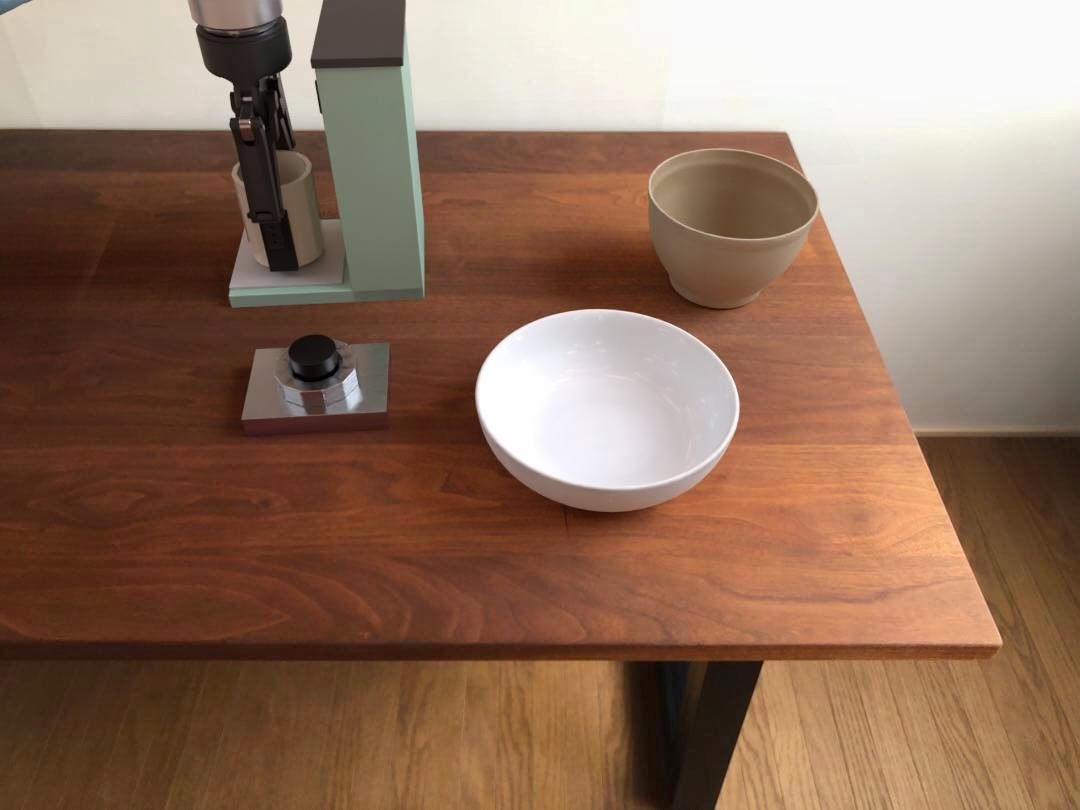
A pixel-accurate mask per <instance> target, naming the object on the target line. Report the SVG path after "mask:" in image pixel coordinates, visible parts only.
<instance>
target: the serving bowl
mask: <svg viewBox="0 0 1080 810" xmlns="http://www.w3.org/2000/svg"><path fill="white" fill-rule="evenodd" d="M474 389H475V391H474V395H475V396H474V399H475V408H476V412H477V416H478V420H479V423H480V427H481V430H482V432H483V436H484V437H485V439H486V442H487V444H488V445H489V447H490V449H491V451H492V452H493V454H494V455H495V457H496V459H497V460H498V461H499V462H500V464H501V465H502V466H503V467H504V468H505V469H506V470H507V471H508V472H509V473H510V475H512V476H513V477H514V478H515V479H516V480H518V481H519V482H520V483H522V484H523V485H524V486H526V487H527V488H529V489H530V490H531V491H534V492H536V493H537V494H539V495H541V496H543V497H544V498H547V499H548V500H551V501H554V502H557V503H560V504H562V505H565V506H569V507H571V508H574V509H575V508H576V509H581V510H585V511H592V512H602V513H603V512H604V513H605V512H606V513H608V512H609V513H617V512H618V513H620V512H621V513H622V512H631V511H636V510H642V509H646V508H650V507H654V506H658V505H660V504H663V503H666V502H669V501H670V500H673V499H675V498H677V497H679V496H680V495H681V496H682V494H684V493H686V492H688V491H690V489H692V488H694V487H695V486H696V485H697V484H699V483H701V481H702V480H703V479H704V478H705V477H707V475H709V474H710V473H711V472H712V470H714V468H715V467H716V466H717V464H718V463H719V461H720V460H721V459H722V458H723V456H724V454H725V452H727V449H728V447H729V445H730V443H731V442H732V439H733V437H734V435H735V432H736V430H737V427H738V424H739V418H740V397H739V392H738V389H737V386H736V383H735V381H734V379H733V377H732V374H731V373H730V371H729V369H728V368H727V366H726V365H725V364H724V362H723V361H722V360H721V359H720V357H718V355H717V354H716V353H715V352H714V351H713V350H712V349H710V348H709V346H707V345H706V344H704V343H703V342H702V341H701V340H700V339H698V338H697V337H695V336H693V335H692V334H691V333H689V332H687V331H685V330H684V329H682V328H681V327H678V326H676V325H674V324H672V323H669V322H667V321H664V320H663V319H659V318H655V317H652V316H650V315H645V314H641V313H637V312H632V311H626V310H619V309H606V308H605V309H604V308H603V309H602V308H591V309H590V308H589V309H588V308H587V309H578V310H570V311H569V310H568V311H565V312H560V313H555V314H552V315H551V314H550V315H547V316H545V317H541V318H539V319H537V320H534V321H532V322H529V323H527V324H524V325H523V326H521V327H519V328H517V329H516V330H514V331H513V332H511V333H510V334H508V335H507V336H505V338H503V339H501V341H500V342H499V343H498V344H497V345H495V346H494V348H493V349H492V350H491V351H490V353H489V354H488V355H487V357H486V358H485V360H484V361H483V363H482V365H481V368H480V370H479V371H478V375H477V379H476V383H475V388H474Z"/></svg>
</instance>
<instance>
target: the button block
mask: <svg viewBox="0 0 1080 810" xmlns="http://www.w3.org/2000/svg"><path fill="white" fill-rule="evenodd" d="M330 338H331V337H330ZM331 339H332V340H333V341H334V342H335V344H336V348H337V354H338V359H339V369H338V371H337V372H336V373H335V374H334V375H333V376H332V377H330V378H327V379H325V380H323V381H320V382H304V381H301V380H299V379H297V378H296V377H295V376H294V374H293V372H292V368H291V363H290V359H289V355H288V350H289V347H290V346H291V345H289V346H288V347H269V348H256V349H255V352H254V356H253V361H252V367H251V371H250V376H249V380H248V385H247V389H246V390H247V391H246V395H245V399H244V405H243V410H242V414H241V418H240V419H241V423H242V426H243V429H244V432H245V435H246V438H256V437H257V438H258V437H274V436H275V437H276V436H277V437H278V436H293V435H309V434H311V435H313V434H325V433H327V434H328V433H330V434H331V433H345V432H364V431H380V430H381V431H382V430H389V429H390V416H391V415H390V413H391V388H392V365H393V364H392V363H393V360H392V353H391V344H390V342H371V343H352V344H351V343H350V344H348V343H346V342H344V341H341V340H337V339H335V338H331Z"/></svg>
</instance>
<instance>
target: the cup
mask: <svg viewBox="0 0 1080 810" xmlns="http://www.w3.org/2000/svg"><path fill="white" fill-rule="evenodd" d="M276 155H277V163H278V170H279V178H280V186H281V194H282V201H283V208H284V210H287V212H288V217H289V222H290V226H291V231H292V236H293V241H294V245H295V250H296V255H297V260H298V264H299V266H303V265H305V264H308V263H310V262H312V261H314V260H315V259H317V258H318V257H319V256H320V255H321V254H322V252H323V251H324V249H325V235H324V230H323V224H322V220H323V219H322V213H321V207H320V201H319V197H318V191H317V185H316V180H315V173H314V169H313V163H312V162H311V161H310V159H309V158H308V157H307V156H306V155H304V154H303V153H302V154H300V153H298V151H294V150H293V151H288V150H276ZM231 178H232V182H233V187H234V190H235V194H236V199H237V201H238V202H237V203H238V206H239V210H240V211H239V212H240V214H241V219H242V223H243V226H244V228H245V231H246V235H247V239H248V243H249V247H250V249H251V252H252V256H253V257H254V259H255V260H256V261H257V262H258V263H260V264H262V265H264V266H267V267H269V264H268V260H267V256H266V251H265V247H264V243H263V239H262V235H261V231H260V226H259V223H252V222H251V219H248V217H247V213H248V212H249V207H248V202H247V197H246V192H245V187H244V182H243V177H242V172H241V168H240V163H239V161H238V162H237V163H236V164H234V165H233V167H232V171H231Z"/></svg>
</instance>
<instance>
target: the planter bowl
mask: <svg viewBox="0 0 1080 810" xmlns="http://www.w3.org/2000/svg"><path fill="white" fill-rule="evenodd" d="M647 200H648V207H647V209H648V212H647V214H648V216H647V217H648V227H649V232H650V233H649V234H650V237H651V241H652V244H653V248H654V249H655V253H656V255H657V257H658V259H659V261H660V262H661V264H662V266H663V268H664V269H665V270H666V272H667V274H668V279H669V281H670V282H669V283H670V284H671V286H672V287H673V289H674V290H675V292H677V294H679V295H680V296H681V297H682V298H683V299H685V300H687V301H689V302H691V303H693V304H696V305H699V306H702V307H706V308H710V309H735V308H740V307H742V306H746V305H748V304H750V303H751V302H753V301H755V299H757V298H758V297H759V295H760V294H761V292H762V290H763V289H765V288H767V287H768V286H770V285H772V284H773V283H774V282H776V280H777V279H779V278H780V277H781V275H783V274H784V273H785V272H786V270H788V268H789V267H790V266H791V265H792V263H793V262H794V261H795V260H796V258H797V256H798V255H799V253H800V252H801V250H802V248H803V246H804V244H805V243H806V240H807V238H808V235H809V233H810V230H811V227H812V225H813V224H814V223H815V220H816V219H817V215H818V213H819V208H820V199H819V196H818V191H817V189H816V188H815V186H814V185H813V183H811V181H809V179H808V178H807V177H806V176H805V175H803V173H801V172H800V171H799V170H797V169H796V168H794V167H793V166H791V165H789V164H787V163H786V162H783V161H781V160H778V159H776V158H773V157H771V156H768V155H766V154H761V153H758V152H754V151H750V150H749V151H748V150H743V149H736V148H724V147H722V148H720V147H718V148H717V147H716V148H701V149H694V150H691V151H686V152H685V151H684V152H681V153H679V154H675V155H673V156H670V157H669V158H667V159H665V160H664V161H662V162H661V163H659V164H658V165H657V166H656V167H655V168H654V169H653V170H652V172H651V174H650V176H649V178H648V182H647Z"/></svg>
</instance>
